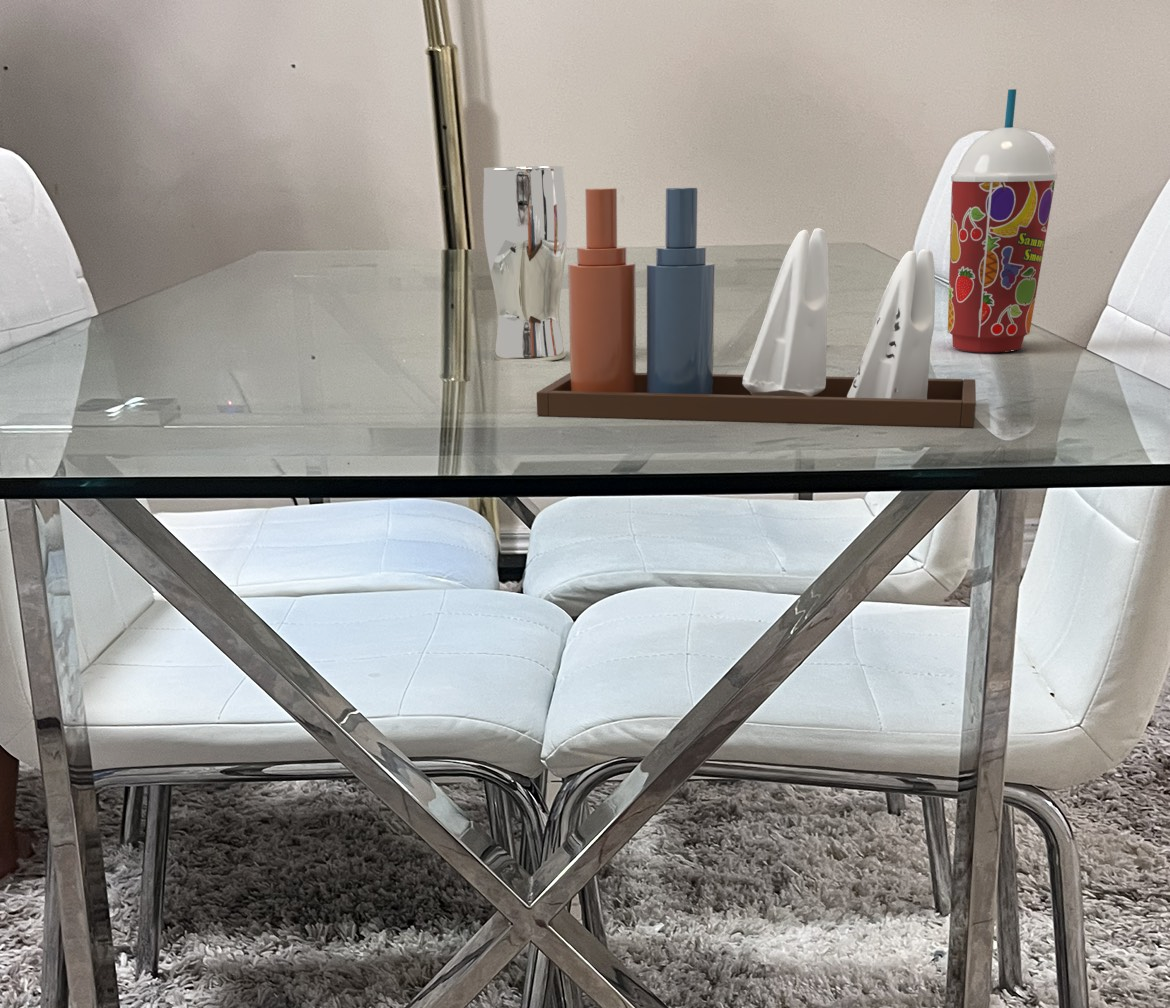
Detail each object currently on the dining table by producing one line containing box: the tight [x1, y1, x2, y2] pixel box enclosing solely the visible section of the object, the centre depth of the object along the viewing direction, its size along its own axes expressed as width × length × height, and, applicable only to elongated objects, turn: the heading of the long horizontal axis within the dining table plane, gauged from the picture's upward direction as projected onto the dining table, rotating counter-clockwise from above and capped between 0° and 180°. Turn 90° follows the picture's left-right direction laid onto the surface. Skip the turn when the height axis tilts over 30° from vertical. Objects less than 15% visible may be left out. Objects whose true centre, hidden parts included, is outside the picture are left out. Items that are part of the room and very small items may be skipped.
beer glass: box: [482, 165, 568, 362], centre depth 117 cm, size 7×7×15 cm
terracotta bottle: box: [567, 187, 637, 393], centre depth 92 cm, size 4×4×14 cm
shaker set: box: [742, 227, 936, 399], centre depth 89 cm, size 12×4×11 cm, turn 83°
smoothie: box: [947, 88, 1058, 354], centre depth 116 cm, size 8×8×20 cm
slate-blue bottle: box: [646, 186, 716, 394], centre depth 91 cm, size 4×4×14 cm
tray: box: [536, 372, 977, 429], centre depth 92 cm, size 28×9×2 cm, turn 76°
